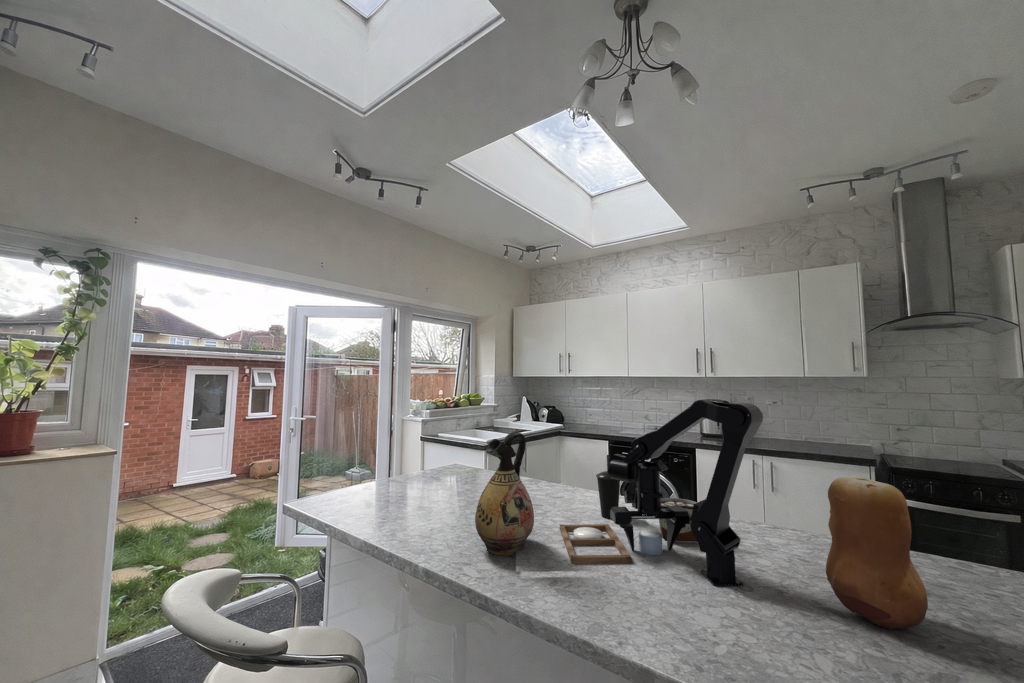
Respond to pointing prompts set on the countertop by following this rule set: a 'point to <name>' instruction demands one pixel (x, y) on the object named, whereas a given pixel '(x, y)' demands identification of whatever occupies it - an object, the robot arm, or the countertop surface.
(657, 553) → the white-capped blue cylinder
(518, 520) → the ceramic jug
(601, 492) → the drinking cup
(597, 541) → the rack
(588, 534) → the white smooth oval
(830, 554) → the butternut squash
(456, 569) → the countertop surface
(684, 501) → the food container
